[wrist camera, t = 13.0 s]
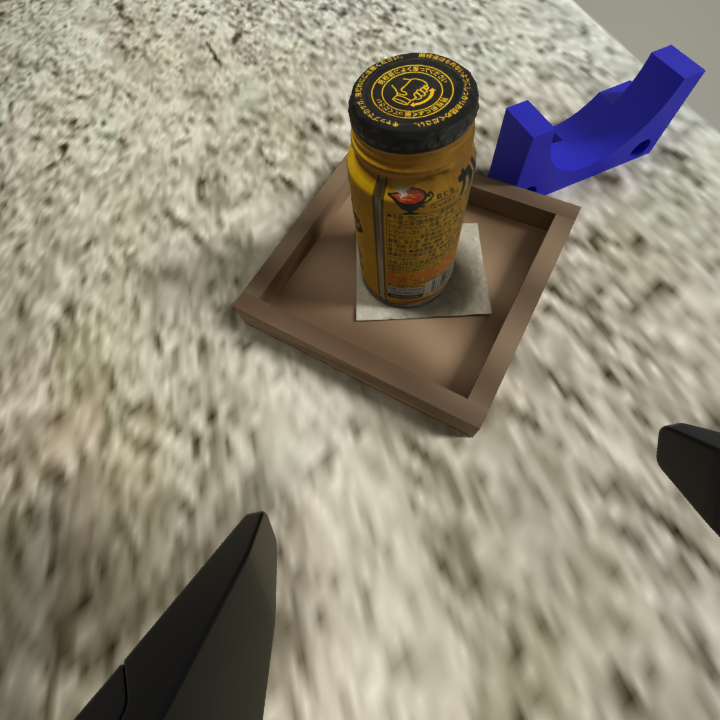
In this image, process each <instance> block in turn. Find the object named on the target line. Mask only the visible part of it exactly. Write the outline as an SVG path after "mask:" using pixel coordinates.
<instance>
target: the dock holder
mask: <svg viewBox="0 0 720 720" xmlns="http://www.w3.org/2000/svg"><path fill="white" fill-rule="evenodd" d="M347 155H348V153H347ZM347 155H346V156H345V157H344V159H343V160H342V161H341V163H340V164H339V165H338V167H337V168H336V169H335V171H334V172H333V173H332V175H331V176H330V177H329V179H328V180H327V181H326V183H325V184H324V185H323V187H322V188H321V189H320V190H319V192H318V193H317V194H316V196H315V197H314V198H313V200H312V201H311V202H310V204H309V205H308V206H307V208H306V209H305V210H304V212H303V213H302V214H301V216H300V217H299V218H298V220H297V221H296V222H295V224H294V225H293V226H292V228H291V229H290V230H289V232H288V233H287V234H286V236H285V237H284V238H283V240H282V241H281V242H280V244H279V245H278V246H277V248H276V249H275V250H274V252H273V253H272V254H271V256H270V257H269V258H268V260H267V261H266V262H265V263H264V265H263V266H262V267H261V269H260V270H259V271H258V273H257V274H256V275H255V277H254V278H253V279H252V281H251V282H250V283H249V285H248V286H247V287H246V289H245V290H244V291H243V293H242V294H241V295H240V297H239V298H238V299H237V301H236V302H235V303H234V305H233V307H234V309H235V310H236V311H237V313H238V314H239V315H240V317H241V318H242V319H243V321H244V322H245V323H247V324H249V325H251V326H253V327H255V328H257V329H259V330H261V331H263V332H265V333H267V334H269V335H271V336H273V337H274V338H276V339H278V340H280V341H282V342H284V343H286V344H288V345H290V346H292V347H294V348H296V349H298V350H300V351H302V352H304V353H306V354H308V355H310V356H312V357H314V358H316V359H318V360H320V361H322V362H324V363H326V364H328V365H330V366H332V367H334V368H336V369H338V370H340V371H342V372H344V373H346V374H348V375H350V376H352V377H354V378H356V379H358V380H360V381H362V382H364V383H366V384H368V385H370V386H371V387H373V388H375V389H377V390H379V391H381V392H383V393H385V394H387V395H389V396H391V397H393V398H395V399H397V400H399V401H401V402H403V403H405V404H407V405H409V406H411V407H413V408H415V409H417V410H419V411H421V412H423V413H425V414H427V415H429V416H431V417H433V418H435V419H437V420H439V421H441V422H443V423H445V424H447V425H449V426H451V427H453V428H455V429H457V430H459V431H461V432H463V433H465V434H466V435H468V436H470V437H473V436H474V435H475V434H476V433H477V432H478V431H479V429H480V428H481V425H482V423H483V421H484V419H485V417H486V415H487V412H488V410H489V408H490V406H491V404H492V401H493V399H494V397H495V395H496V393H497V390H498V388H499V386H500V384H501V382H502V379H503V377H504V375H505V373H506V371H507V369H508V366H509V364H510V362H511V360H512V358H513V355H514V353H515V351H516V349H517V347H518V344H519V342H520V340H521V338H522V336H523V333H524V331H525V329H526V327H527V325H528V323H529V320H530V318H531V316H532V314H533V312H534V309H535V307H536V305H537V303H538V301H539V298H540V296H541V294H542V292H543V290H544V287H545V285H546V283H547V281H548V279H549V276H550V274H551V272H552V270H553V268H554V266H555V263H556V261H557V259H558V257H559V255H560V252H561V250H562V248H563V246H564V244H565V241H566V239H567V237H568V235H569V233H570V230H571V228H572V226H573V224H574V222H575V220H576V217H577V215H578V213H579V211H580V209H581V207H579V206H576V205H573V204H570V203H567V202H564V201H561V200H558V199H554V198H551V197H548V196H545V195H542V194H539V193H536V192H533V191H530V190H526V189H523V188H520V187H517V186H514V185H511V184H508V183H505V182H501V181H498V180H495V179H492V178H489V177H486V176H483V175H480V174H476V173H474V175H473V179H472V184H471V188H470V193H469V197H468V202H467V206H466V211H465V215H464V220H463V223H477V224H478V230H479V239H480V244H481V251H482V261H483V264H484V271H485V277H486V282H487V289H488V294H489V300H490V304H491V310H492V314H471V315H462V316H432V317H422V318H408V319H387V320H356V300H357V299H356V293H357V284H356V282H357V279H356V274H357V269H356V229H355V220H354V214H353V207H352V201H351V190H350V184H349V180H348V169H347Z"/></svg>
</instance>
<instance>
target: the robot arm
mask: <svg viewBox="0 0 720 720" xmlns="http://www.w3.org/2000/svg"><path fill="white" fill-rule="evenodd" d="M656 458H657V462H658V464H659V466H660V468H661V469H662V470H663V472H664V473H665V474H666V475H667V476H668V478H669V479H670V480H671V481H672V482H673V483H674V485H675V486H676V487H677V488H678V489H679V491H680V492H681V493H682V494H683V495H684V497H685V498H686V499H687V500H688V501H689V503H690V504H691V505H692V506H693V507H694V509H695V510H696V511H697V512H698V513H699V515H700V516H701V517H702V518H703V519H704V520H705V522H706V523H707V524H708V525H709V526H710V527H711V528H712V529H713V530H714V532H715V533H716V534H717V535H718V536H719V537H720V432H717V431H713V430H709V429H705V428H701V427H697V426H693V425H689V424H685V423H677V424H672V425H667V426H664V427H662V428H661V429H660V431H659V436H658V445H657V455H656ZM276 575H277V542H276V538H275V535H274V532H273V529H272V527H271V524H270V521H269V518H268V516H267V514H266V513H265V512H264V511H260V512H255V513H250V514H247V515H246V516H245V517H244V518H243V519H242V520H241V521H240V523H239V524H238V525H237V526H236V527H235V529H234V530H233V531H232V532H231V533H230V535H229V536H228V537H227V538H226V539H225V541H224V542H223V543H222V544H221V545H220V546H219V548H218V549H217V550H216V551H215V552H214V554H213V555H212V556H211V557H210V558H209V560H208V561H207V562H206V563H205V564H204V566H203V567H202V568H201V569H200V570H199V572H198V573H197V574H196V575H195V576H194V578H193V579H192V580H191V581H190V582H189V584H188V585H187V586H186V587H185V588H184V590H183V591H182V592H181V593H180V594H179V596H178V597H177V598H176V599H175V600H174V602H173V603H172V604H171V605H170V606H169V608H168V609H167V610H166V611H165V612H164V613H163V615H162V616H161V617H160V618H159V619H158V621H157V622H156V623H155V624H154V625H153V627H152V628H151V629H150V630H149V631H148V633H147V634H146V635H145V636H144V637H143V639H142V640H141V641H140V642H139V643H138V645H137V646H136V647H135V648H134V649H133V651H132V652H131V653H130V654H129V655H128V657H127V658H126V659H125V660H124V665H120V666H119V667H118V668H117V670H116V671H115V672H114V673H113V674H112V675H111V677H110V678H109V679H108V680H107V681H106V683H105V684H104V685H103V686H102V687H101V689H100V690H99V691H98V692H97V693H96V694H95V696H94V697H93V698H92V699H91V700H90V701H89V702H88V704H87V705H86V706H85V707H84V708H83V709H82V711H81V712H80V713H79V714H78V715H77V716H76V718H75V719H74V720H263V713H264V706H265V698H266V690H267V682H268V675H269V667H270V659H271V651H272V643H273V636H274V627H275V613H276Z"/></svg>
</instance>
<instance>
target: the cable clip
mask: <svg viewBox="0 0 720 720" xmlns="http://www.w3.org/2000/svg"><path fill="white" fill-rule="evenodd" d="M704 72H705V70H704V69H703V68H702V67H700V66H699V65H698V64H696V63H695V62H693V61H692V60H691V59H690V58H688V57H687V56H686V55H684V54H683V53H682V52H680V51H679V50H678V49H676V48H675V47H674V46H672V45H670V46H667V47H665V48H662V49H659V50H657V51H654V52H652V53H651V54H650V56H649V58H648V60H647V61H646V63H645V64H644V66H643V67H642V69H641V70H640V72H639V73H638V75H637V76H636V78H635V79H634V80H633V81H631V80H630V81H627V82H625V83H622V84H620V85H617V86H615V87H612V88H609V89H607V90H604V91H602V92H599V93H598V94H597V95H596V96H595V97H594V98H593V99H592V100H591V101H590V102H589V103H588V104H587V105H585V106H584V107H583V108H582V109H581V110H579V111H578V112H577V113H575V114H574V115H573V116H571V117H570V118H568V119H567V120H565V121H563V122H562V123H560V124H558V125H556V126H554V127H553V126H552V125H551V124H550V123H549V122H548V121H547V120H546V119H545V118H544V116H543V115H542V114H541V113H540V112H539V111H538V110H537V109H536V108H535V107H534V106H533V105H532V104H531V103H530V102H529V101H528V100H526V101H524V102H521V103H519V104H516V105H513V106H511V107H508V108H506V111H505V115H504V119H503V123H502V126H501V130H500V134H499V138H498V141H497V145H496V149H495V153H494V156H493V160H492V164H491V168H490V171H489V175H488V177H489V178H492V179H495V180H498V181H501V182H505V183H508V184H511V185H514V186H517V187H520V188H523V189H526V190H530V191H533V192H536V193H539V194H542V195H547V194H549V193H552V192H554V191H557V190H559V189H562V188H564V187H567V186H569V185H572V184H574V183H576V182H579V181H581V180H584V179H586V178H589V177H591V176H594V175H596V174H598V173H601V172H603V171H606V170H608V169H611V168H613V167H616V166H618V165H621V164H623V163H625V162H628V161H630V160H633V159H635V158H638V157H640V156H643V155H645V154H648V153H649V152H650V151H651V150H652V148H653V147H654V145H655V144H656V142H657V141H658V139H659V138H660V136H661V135H662V133H663V132H664V131H665V129H666V128H667V126H668V125H669V123H670V122H671V120H672V119H673V117H674V116H675V114H676V113H677V112H678V110H679V109H680V107H681V106H682V104H683V103H684V101H685V100H686V98H687V97H688V95H689V94H690V92H691V91H692V89H693V88H694V86H695V85H696V84H697V82H698V81H699V79H700V78H701V76H702V75H703V73H704Z"/></svg>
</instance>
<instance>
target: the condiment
mask: <svg viewBox="0 0 720 720" xmlns="http://www.w3.org/2000/svg"><path fill="white" fill-rule="evenodd" d="M478 98H479V94H478V89H477V84H476V82H475V80H474V78H473V77H472V75H471V73H470V72H469V71H468V70H467V69H465V68H464V67H462V66H461V65H460V64H458V63H456V62H454V61H452V60H450V59H449V58H446V57H443V56H439V55H436V54H430V53H409V54H402V55H398V56H395V57H390V58H387V59H384V60H382V61H380V62H379V63H376V64H374V65H373V66H371V67H369V68H368V69H367V70H366V71H365V72H364V73H363V74H362V75H361V76H360V77H359V78H358V79H357V81H356V82H355V84H354V86H353V89H352V94H351V96H350V99H349V108H348V113H349V116H350V122H351V145H350V148H349V151H348V155H347V169H348V180H349V184H350V190H351V201H352V207H353V214H354V220H355V229H356V269H357V274H356V279H357V282H356V284H357V293H356V299H357V300H356V320H387V319H408V318H422V317H432V316H462V315H471V314H492V310H491V304H490V300H489V294H488V289H487V282H486V277H485V271H484V264H483V261H482V251H481V244H480V239H479V230H478V224H477V223H463V220H464V215H465V211H466V206H467V202H468V197H469V193H470V188H471V184H472V179H473V175H474V171H475V165H476V149H475V144H474V141H473V140H474V134H475V117H476V116H477V111H478V109H479V104H478V100H479V99H478Z"/></svg>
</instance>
